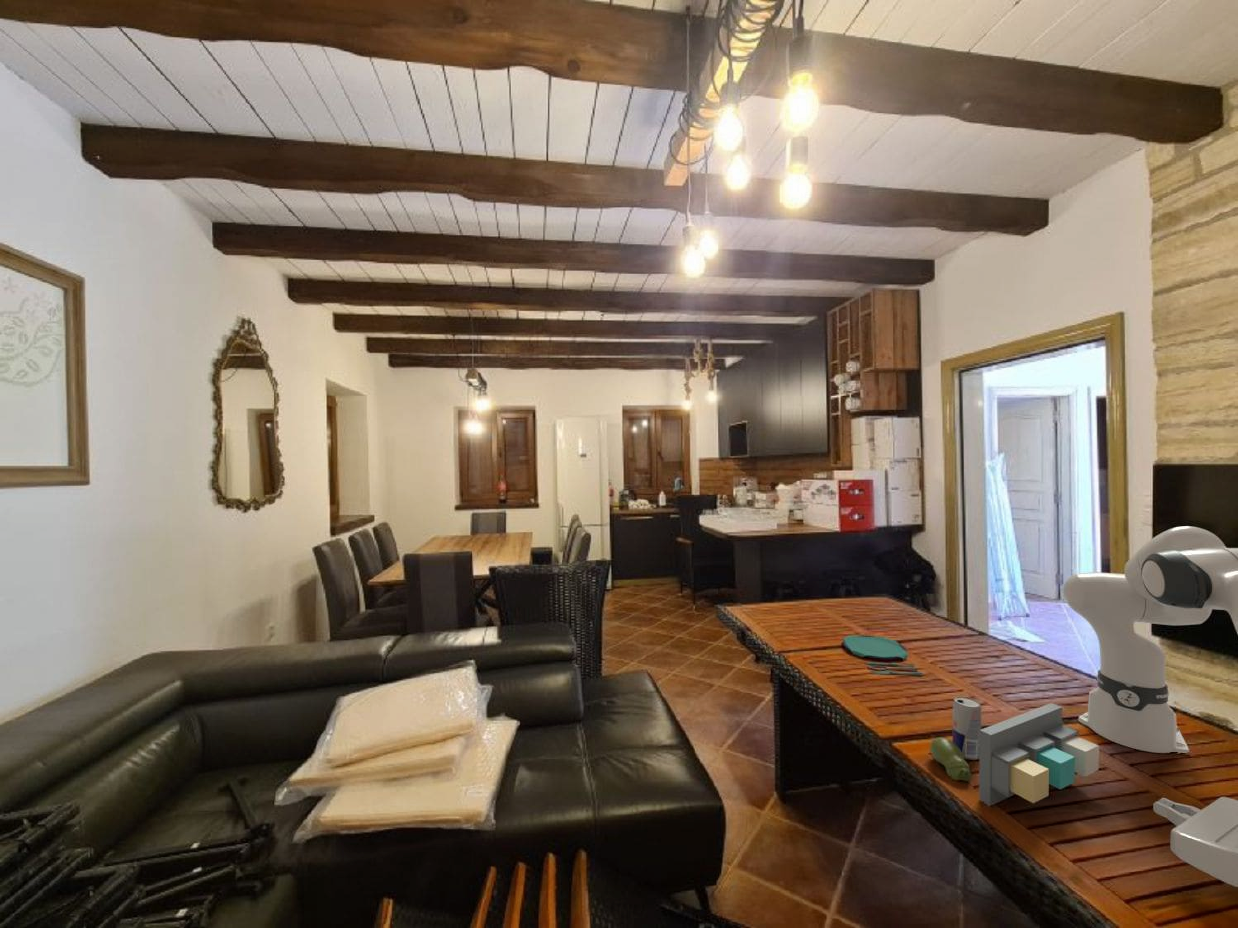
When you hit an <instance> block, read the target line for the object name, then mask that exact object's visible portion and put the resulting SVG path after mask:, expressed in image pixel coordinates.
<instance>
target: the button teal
mask: <svg viewBox="0 0 1238 928" xmlns="http://www.w3.org/2000/svg"><path fill="white" fill-rule="evenodd" d="M1037 764H1039V765H1041V766H1043V767H1046V768H1048V769H1049V786H1050V785H1051V786H1053V787H1055V788H1057V789H1058V790H1062V789H1064V788H1066V787H1068V786H1070V785H1072V784H1074V783H1075V776H1076V775H1075V774H1076V772H1075V757H1074V756H1072V755H1069V754H1067V753H1065V752H1063V751H1060V750H1058V749H1056V748H1054V747H1051V746H1050V747H1048V748H1045V749H1043V750H1041V751H1039V752H1037Z"/></svg>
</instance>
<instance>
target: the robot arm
mask: <svg viewBox="0 0 1238 928" xmlns="http://www.w3.org/2000/svg"><path fill="white" fill-rule="evenodd" d="M1062 590H1063V598H1064V600H1065V602H1066V604H1067V605H1068V606H1069V607H1070V608H1071V610H1073V611H1074V612H1075V613H1077V614H1078V615H1080V616H1081V617H1082V618H1083V619H1084V620H1086V622H1087V623H1088V624H1089V625H1090V626H1091V628H1092V629H1093V631H1094V632H1095V634H1096V637H1097V639H1098V646H1099V656H1100V658H1099V662H1100V665H1099V666H1100V669H1099V670H1098V671H1097V675H1096V680H1097V687H1096V688H1095V689H1092V690H1091V691H1089V694H1088V705H1087V707H1088V708H1087V711H1086V712H1085V713H1083V714H1081V715H1079V716H1078V719H1077V720H1078V722H1080V723H1081V724H1082V725H1084V726H1087V727H1088V728H1089V729H1091V730H1093V732H1094V733H1096V734H1098V735H1099V736H1100V737H1101V736H1102V737H1103V738H1104V739H1107V740H1109V741H1111V742H1114V743H1116V744H1118V745H1122V746H1125V747H1128V748H1130V749H1136V750H1138V751H1143V752H1149V753H1158V754H1159V753H1160V754H1167V753H1170V752H1178V753H1177V754H1180V753H1181V752H1182V753H1187V752H1189V753H1190V749H1189V747H1188V744H1187V743H1186V741H1185V739H1184V737H1183V735H1182V733H1181V730H1180V729H1179V727H1178V725H1177V714H1176V713H1175V712H1174V710H1173V709H1172V708H1171V707H1170V705H1169V704H1168V701H1169V695H1170V694H1169V693H1170V691H1169V689H1168V687H1169V686H1168V685H1167V684H1166V667H1167V657H1166V653H1165V652H1164V650H1163V649H1162V648H1161V646H1159V644H1157V643H1156V642H1155V641H1153V640H1152V639H1150V638H1147V637H1145V636H1143V635H1141V634H1139V633H1137V632H1136V631H1135V627H1134V623H1145V624H1146V623H1147V624H1155V625H1166V626H1190V625H1201V624H1203V623H1204V622H1206V621H1207V620H1208V619H1209V617H1210V616H1211V614H1212V611H1213V610H1218V611H1219V610H1220V611H1221V610H1223V611H1226V612H1227V613H1228V614H1229V616H1230V618H1231V621H1232V623H1233V626H1234V629H1235V631H1236V633H1237V635H1238V547H1227V546H1226V545H1225V543H1224V542H1223V541H1222V540H1221V538H1219V537H1218V536H1217V535H1216V534H1214V533H1213V532H1211V531H1209V530H1207V529H1204V528H1201V527H1197V526H1189V525H1186V526H1185V525H1183V526H1176V527H1172V528H1169V529H1167V530H1165V531H1162V532H1161V533H1159V534H1157V535H1155V536H1154V537H1152V538H1151V539H1150V540H1148V541H1147V542H1145V544H1144V545H1143V546H1141V547H1140V548H1139V550H1137V551H1136V552H1135V554H1134V555H1132V556H1131V557H1130V559H1129V560H1128V561H1126V563H1125V565H1124V573H1115V572H1112V573H1111V572H1101V571H1100V572H1099V571H1096V572H1095V571H1093V572H1092V571H1091V572H1082V573H1074V574H1071V575H1070V576H1069V577H1068V578H1067V579H1066V581H1065V583H1064V586H1063V588H1062ZM1152 806H1153V808H1152V809H1153V812H1154V813H1156V815H1159V816H1161V817H1164V818H1165V819H1167V820H1169V821H1170V822H1171V823H1172V824H1173V825H1174V826H1175V827H1174V828H1172V829H1171V830H1170V842H1169V843H1170V850H1171V852H1172V853H1173V854H1174V855H1176V856H1177V857H1178V858H1179V859H1180V860H1182V861H1183V862H1185V863H1187V864H1189V865H1191V867H1195V868H1196V869H1197V870H1200V871H1201V872H1204V873H1206V874H1207V875H1210V876H1211V877H1214V878H1216V879H1217V880H1220V881H1222V882H1224V883H1225V884H1227V885H1231V886H1233V887H1236V888H1238V800H1237V799H1234V798H1230V797H1227V796H1221V797H1219V798H1217V799H1215V801H1213V802H1211V803H1209V804H1208V805H1207V806H1205V807H1203V808H1202V809H1200V808H1198V807H1195V806H1192V805H1188V804H1184V803H1179V802H1175V801H1172V800H1170V799H1168V798H1165V797H1161V798H1160V799H1158V800H1157V801H1155V802H1154V803H1153V804H1152Z"/></svg>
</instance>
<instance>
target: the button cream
mask: <svg viewBox="0 0 1238 928" xmlns="http://www.w3.org/2000/svg"><path fill="white" fill-rule="evenodd" d="M1062 751H1063V752H1065V753H1067V754H1069V755H1072V756H1074V757H1075V774H1076V773H1077V774H1078V775H1081V776H1082V777H1088V776H1089V775H1091V774H1093V773H1095V772H1097V771H1099V762H1100V761H1099V759H1100V758H1099V756H1100V755H1099V754H1100V746H1099V744H1096V743H1094V742H1091V741H1090V740H1087V739H1084V738H1081V737H1080V736H1079V737H1077V736H1072V737H1070V738H1068V739H1066V740H1063V741H1062Z"/></svg>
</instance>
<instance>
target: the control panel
mask: <svg viewBox="0 0 1238 928" xmlns="http://www.w3.org/2000/svg"><path fill="white" fill-rule="evenodd" d="M1062 723H1063V706H1060V705H1057V704H1055V703H1052V702H1050V703H1048V704H1045V705H1042V706H1040V707H1037V708H1035V709H1034V708H1033V709H1031V710H1029V711H1026V712H1024V713H1021V714H1018V715H1015V716H1013V717H1011V718H1007V719H1005V720H1003V721H1000V722H997V723H995V724H992V725H990V726H989V725H988V726H987V727H983V728H981V730H980V758H979V765H978V767H979V768H978V770H979V773H978V774H979V775H978V777H979V778H978V779H979V781H978V800H979V799H980V800H981V801H980V800H979V801H980V802H982V801H983V802H984V804H985V805H987V804H988V805H987V806H988V807H991V805H992V806H993V805H996V804H997V803H999V802H1002V801H1003V800H1006V799H1008V798H1010V797H1012V796H1015V795H1016V794H1015V793H1013V792H1011V791H1010V764H1011V763H1014V762H1016V761H1018V760H1020V759H1023V758H1027V759H1029V760H1031V761H1033V762H1035V763H1037V752H1039V751H1041V750H1043V749H1045V748H1048V747H1050V746H1051V747H1054V748H1056V749H1058V750H1060V751H1062V741H1063V740H1066V739H1068V738H1070V737H1072V736H1077V737H1079V738H1080V736H1079V733H1080V732H1079V730H1078V729H1075V728H1072V727H1070V726H1068V725H1065V724H1062ZM983 802H982V803H983Z"/></svg>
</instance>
